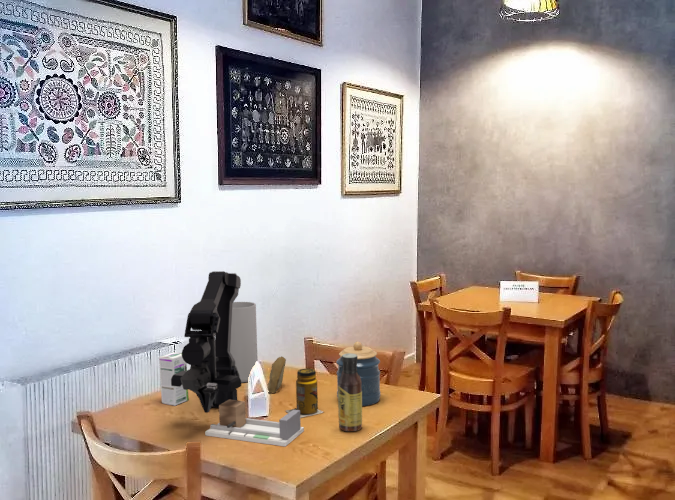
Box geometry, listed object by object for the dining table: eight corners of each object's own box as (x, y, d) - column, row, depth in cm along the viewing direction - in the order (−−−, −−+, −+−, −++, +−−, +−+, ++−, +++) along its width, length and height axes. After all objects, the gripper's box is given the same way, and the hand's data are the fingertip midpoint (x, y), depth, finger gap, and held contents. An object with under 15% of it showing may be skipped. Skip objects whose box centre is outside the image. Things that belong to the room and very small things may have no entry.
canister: (382, 394, 203) (382, 337, 201) (377, 407, 190) (377, 347, 188) (341, 392, 205) (339, 336, 203) (333, 406, 192) (332, 346, 191)
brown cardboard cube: (213, 431, 170) (212, 409, 169) (229, 421, 178) (228, 399, 177) (230, 434, 168) (229, 411, 168) (246, 423, 176) (245, 401, 175)
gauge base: (205, 435, 171) (204, 412, 171) (227, 421, 181) (226, 399, 181) (285, 446, 163) (284, 422, 162) (303, 430, 173) (303, 408, 172)
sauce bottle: (337, 424, 177) (336, 352, 175) (360, 423, 177) (359, 351, 176) (339, 433, 170) (338, 358, 169) (363, 432, 171) (362, 357, 169)
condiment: (323, 412, 187) (322, 371, 186) (297, 419, 182) (296, 376, 181) (310, 405, 193) (309, 365, 192) (285, 411, 188) (283, 370, 187)
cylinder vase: (242, 385, 214) (240, 309, 212) (212, 380, 220) (210, 306, 218) (265, 375, 225) (263, 303, 223) (236, 371, 231) (233, 300, 229)
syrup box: (175, 406, 195) (173, 358, 194) (160, 403, 198) (158, 355, 197) (188, 400, 200) (186, 353, 199) (174, 397, 203) (172, 351, 202)
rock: (280, 388, 202) (298, 376, 211) (264, 365, 204) (283, 354, 212) (260, 404, 208) (279, 391, 217) (245, 381, 210) (264, 369, 218)
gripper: (156, 360, 172) (159, 418, 173) (218, 365, 165) (221, 426, 166) (182, 349, 182) (184, 405, 183) (241, 355, 175) (243, 412, 176)
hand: (207, 412), depth 177 cm, fingers closed
